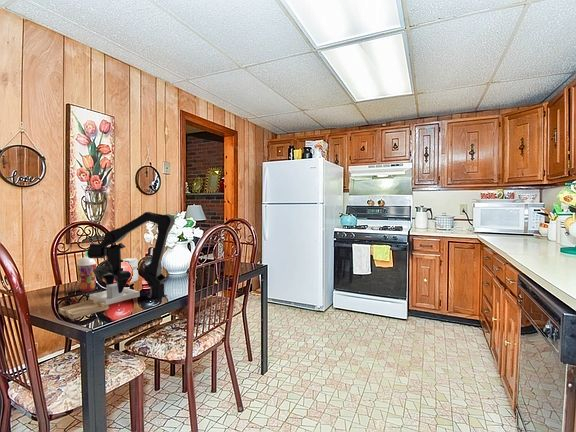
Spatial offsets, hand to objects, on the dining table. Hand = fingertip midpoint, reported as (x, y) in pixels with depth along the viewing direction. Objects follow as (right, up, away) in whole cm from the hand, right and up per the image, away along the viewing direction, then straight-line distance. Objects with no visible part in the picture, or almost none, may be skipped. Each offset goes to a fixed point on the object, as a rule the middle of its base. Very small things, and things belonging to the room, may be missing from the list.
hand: (115, 291), depth 147 cm
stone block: (0, -3, 0) cm, 3 cm away
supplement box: (-9, -2, +31) cm, 32 cm away
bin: (0, -3, 0) cm, 3 cm away
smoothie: (-21, -3, +13) cm, 25 cm away
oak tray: (-3, -4, -17) cm, 18 cm away
